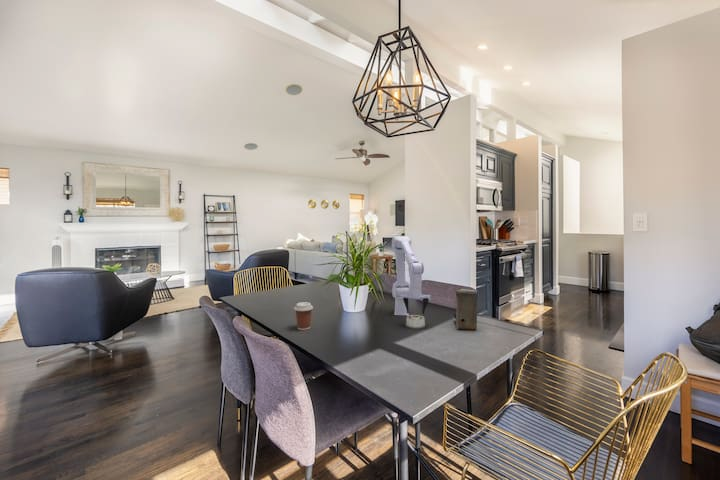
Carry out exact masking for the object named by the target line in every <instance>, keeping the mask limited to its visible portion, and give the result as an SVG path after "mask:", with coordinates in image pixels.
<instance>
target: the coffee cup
mask: <svg viewBox="0 0 720 480" xmlns="http://www.w3.org/2000/svg"><path fill="white" fill-rule="evenodd" d="M293 309H294V311H295V319H296V327H297V330H300V331H303V330H304V331H305V330H306V329H307V330H308V329H311V324H312V310H313V309H314V306H313V305H312V304H311V303H310V302H307V301H302V302H297V303H296V304H295V306H294V307H293Z"/></svg>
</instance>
